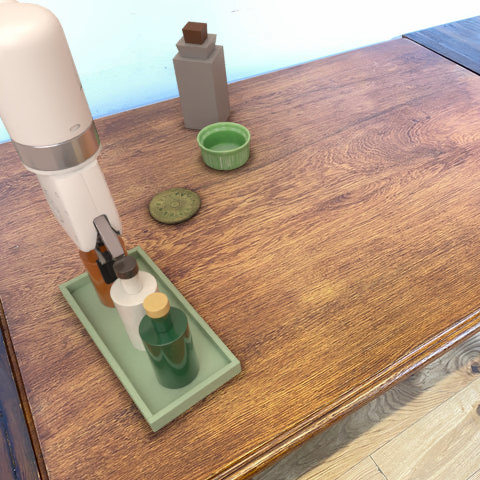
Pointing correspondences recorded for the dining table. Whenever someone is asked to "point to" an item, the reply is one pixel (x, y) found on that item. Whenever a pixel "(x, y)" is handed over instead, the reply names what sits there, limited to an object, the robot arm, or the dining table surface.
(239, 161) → the ramekin
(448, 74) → the dining table surface
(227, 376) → the tray
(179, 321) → the green glass bottle
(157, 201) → the medallion
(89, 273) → the amber bottle
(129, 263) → the frosted bottle
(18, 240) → the dining table surface
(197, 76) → the perfume bottle
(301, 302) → the dining table surface
